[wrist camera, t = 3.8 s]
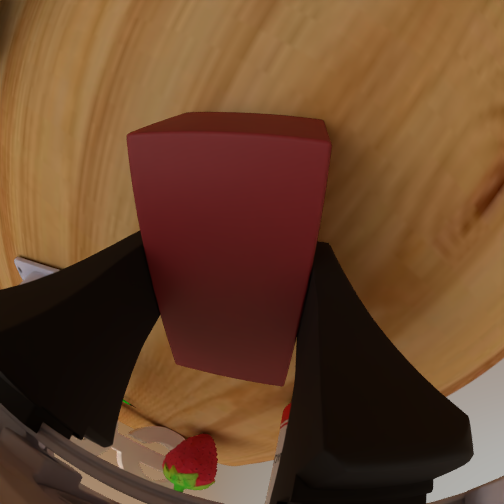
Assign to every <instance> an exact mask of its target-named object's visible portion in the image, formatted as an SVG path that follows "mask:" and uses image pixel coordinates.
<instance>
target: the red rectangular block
mask: <svg viewBox="0 0 504 504" xmlns="http://www.w3.org/2000/svg"><path fill="white" fill-rule="evenodd" d="M127 147H128V156H129V164H130V171H131V179H132V185H133V192H134V198H135V204H136V210H137V216H138V221H139V226H140V231H141V236H142V241H143V246H144V251H145V255H146V260H147V264H148V268H149V273H150V277H151V281H152V285H153V289H154V292H155V296H156V300H157V304H158V307H159V311H160V314H161V318H162V321H163V325H164V328H165V331H166V335H167V338H168V341H169V344H170V347H171V350H172V354H173V357H174V360H175V363H176V364H177V365H181V366H185V367H188V368H192V369H196V370H200V371H204V372H209V373H213V374H217V375H222V376H226V377H231V378H236V379H241V380H246V381H252V382H257V383H263V384H269V385H276V386H284V384H285V380H286V376H287V373H288V369H289V365H290V361H291V357H292V353H293V350H294V346H295V342H296V338H297V333H298V329H299V325H300V321H301V317H302V312H303V308H304V303H305V299H306V294H307V290H308V285H309V280H310V275H311V270H312V265H313V260H314V255H315V250H316V245H317V239H318V234H319V228H320V222H321V217H322V211H323V204H324V198H325V192H326V185H327V178H328V171H329V164H330V157H331V149H332V144H331V141H330V138H329V135H328V132H327V129H326V126H325V124H324V121H323V120H319V119H312V118H303V117H294V116H284V115H272V114H257V113H234V112H190V113H184V114H181V115H178V116H175V117H172V118H169V119H166V120H163V121H160V122H157V123H154V124H151V125H149V126H146V127H143V128H141V129H138V130H136V131H133V132H131V133H129V134H127Z"/></svg>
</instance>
